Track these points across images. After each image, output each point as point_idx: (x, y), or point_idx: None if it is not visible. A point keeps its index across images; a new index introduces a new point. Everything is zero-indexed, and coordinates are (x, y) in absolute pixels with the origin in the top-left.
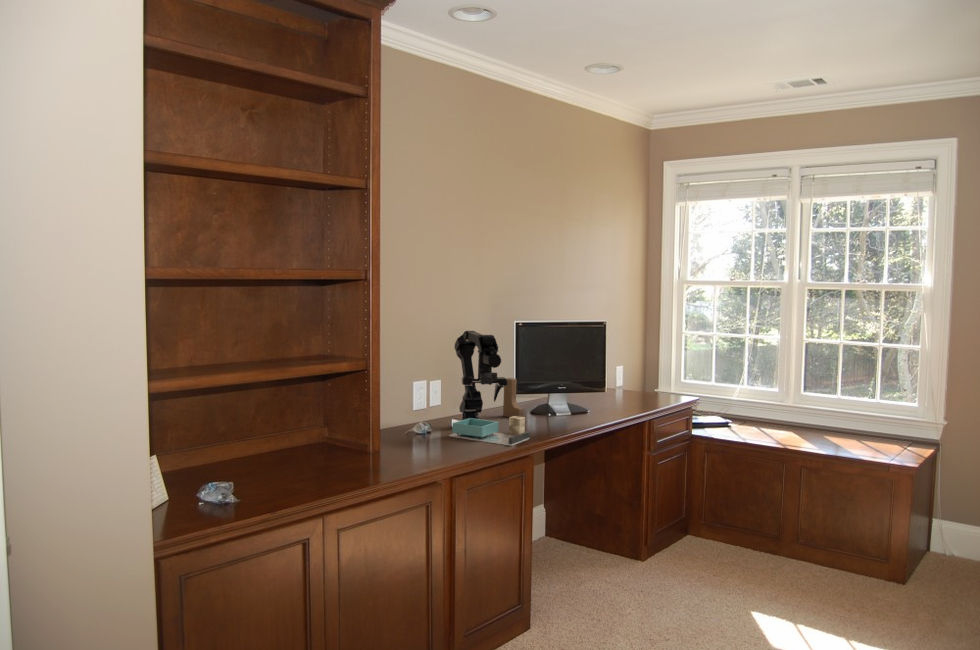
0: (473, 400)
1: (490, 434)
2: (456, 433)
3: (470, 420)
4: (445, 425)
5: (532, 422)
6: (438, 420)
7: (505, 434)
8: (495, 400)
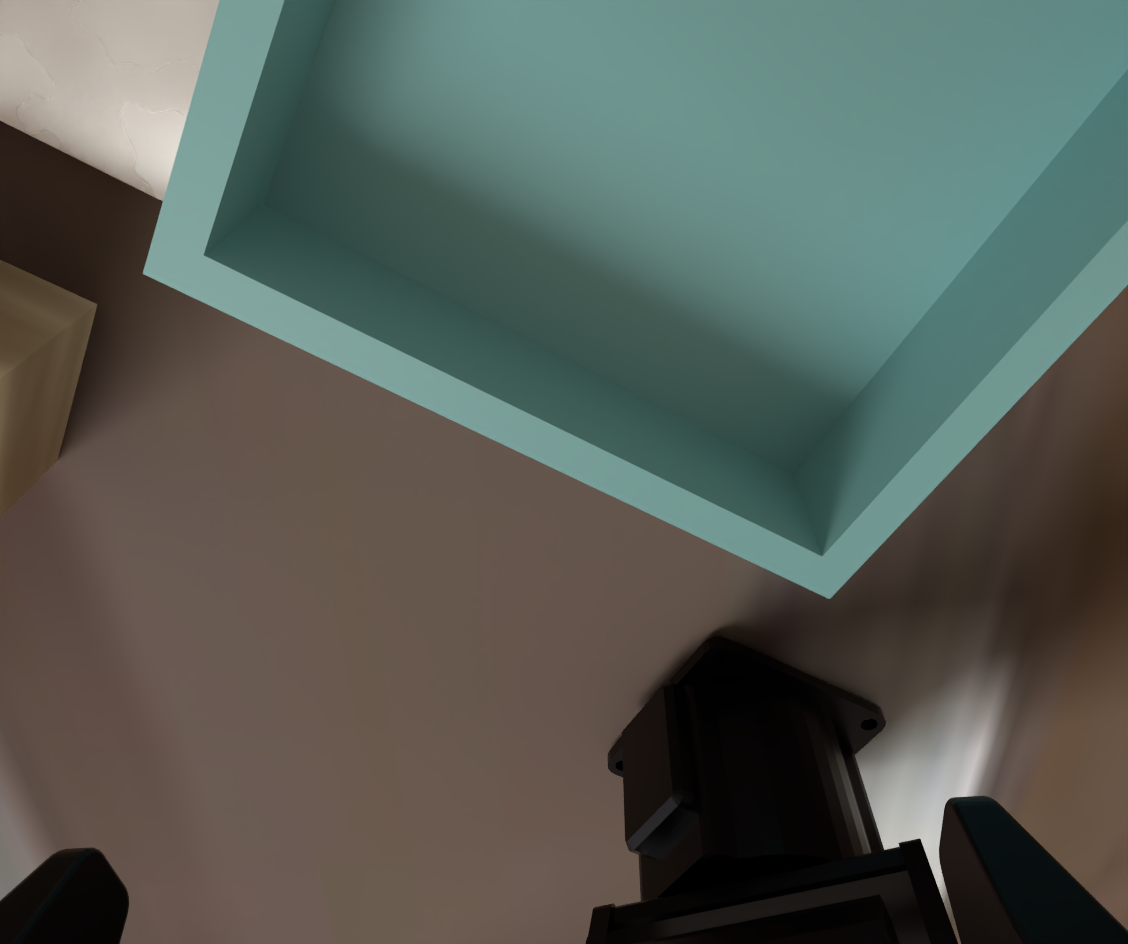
0: (959, 822)
1: None
2: None
3: (812, 532)
4: (1082, 735)
5: None
6: None
7: (88, 120)
8: (22, 881)
